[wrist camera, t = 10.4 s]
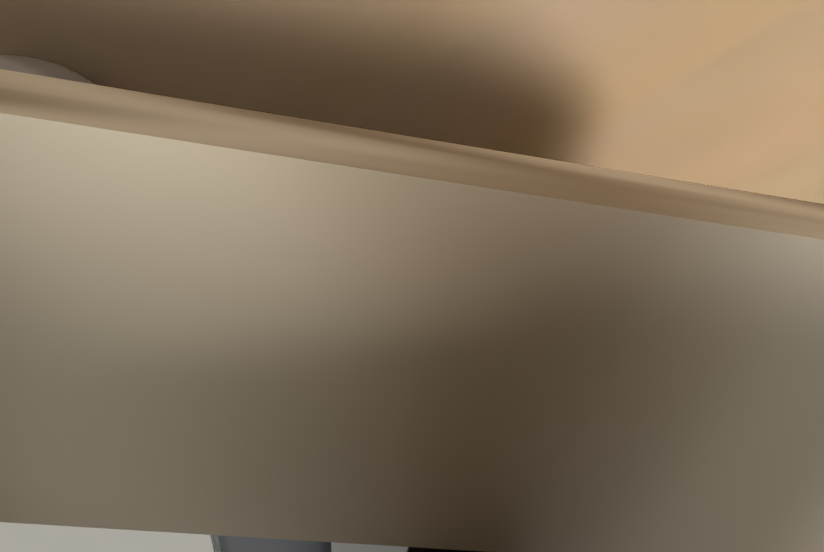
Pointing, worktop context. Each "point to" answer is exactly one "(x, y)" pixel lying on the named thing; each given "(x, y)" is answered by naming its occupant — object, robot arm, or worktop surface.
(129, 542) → the slab
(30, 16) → the worktop surface
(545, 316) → the notched beige block
